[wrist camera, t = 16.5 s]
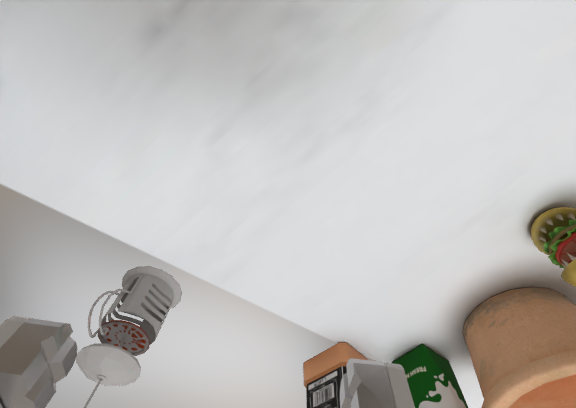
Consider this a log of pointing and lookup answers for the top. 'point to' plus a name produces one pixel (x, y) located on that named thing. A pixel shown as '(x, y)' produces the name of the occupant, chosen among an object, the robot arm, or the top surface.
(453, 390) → the milk carton
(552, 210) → the hamburger
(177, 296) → the french press
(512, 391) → the pottery
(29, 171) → the top surface
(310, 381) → the whiskey bottle
